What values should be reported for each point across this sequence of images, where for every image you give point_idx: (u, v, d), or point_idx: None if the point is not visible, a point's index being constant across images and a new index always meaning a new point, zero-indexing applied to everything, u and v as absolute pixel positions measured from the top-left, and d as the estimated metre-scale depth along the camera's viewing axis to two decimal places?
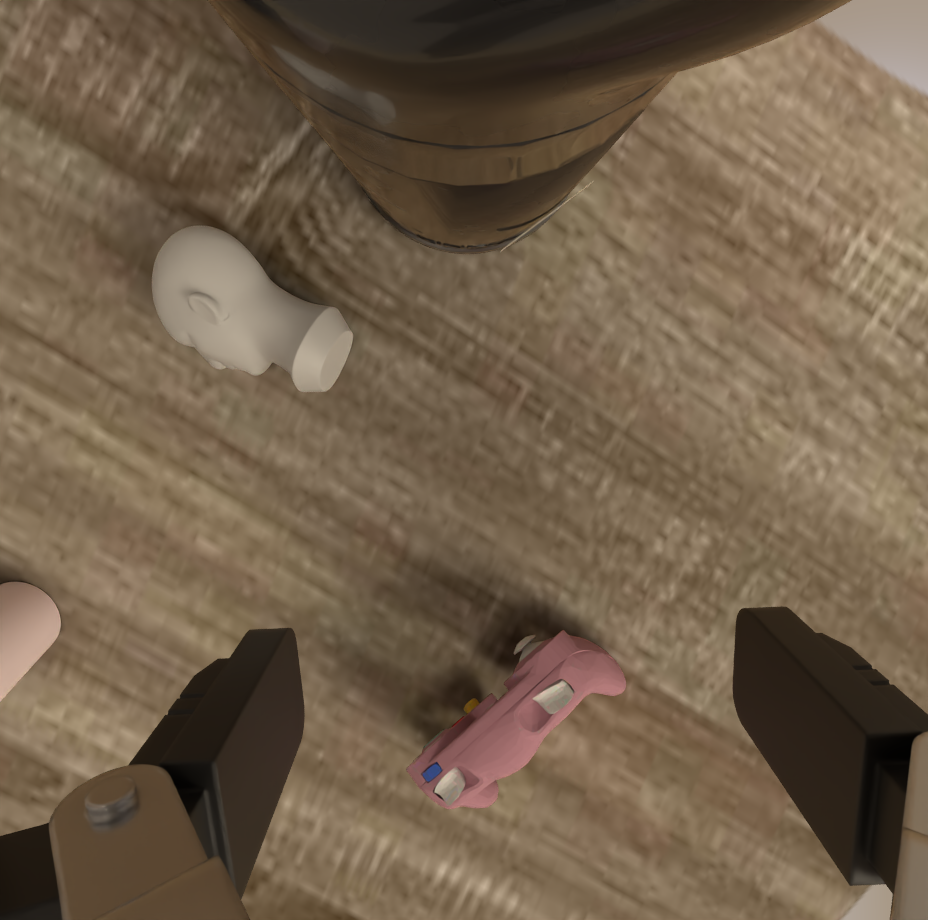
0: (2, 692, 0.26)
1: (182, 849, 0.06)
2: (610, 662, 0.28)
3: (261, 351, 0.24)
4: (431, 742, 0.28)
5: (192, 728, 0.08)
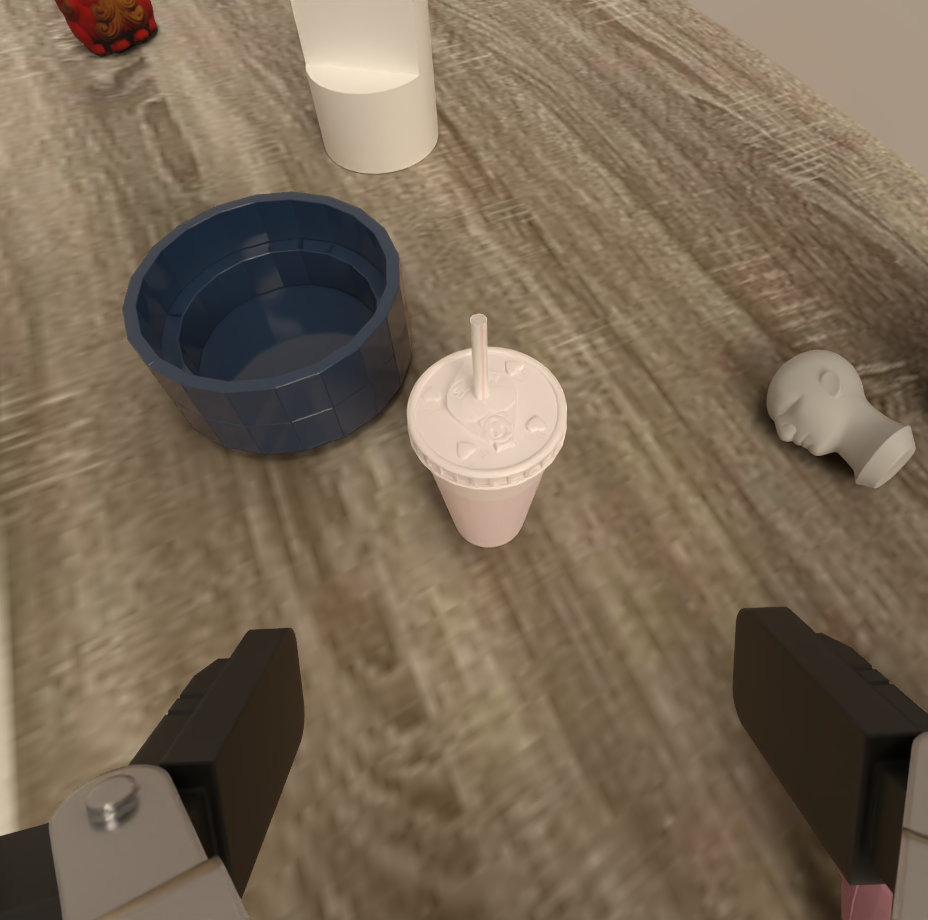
0: (518, 509, 0.28)
1: (182, 849, 0.06)
2: None
3: (847, 430, 0.32)
4: None
5: (192, 728, 0.08)
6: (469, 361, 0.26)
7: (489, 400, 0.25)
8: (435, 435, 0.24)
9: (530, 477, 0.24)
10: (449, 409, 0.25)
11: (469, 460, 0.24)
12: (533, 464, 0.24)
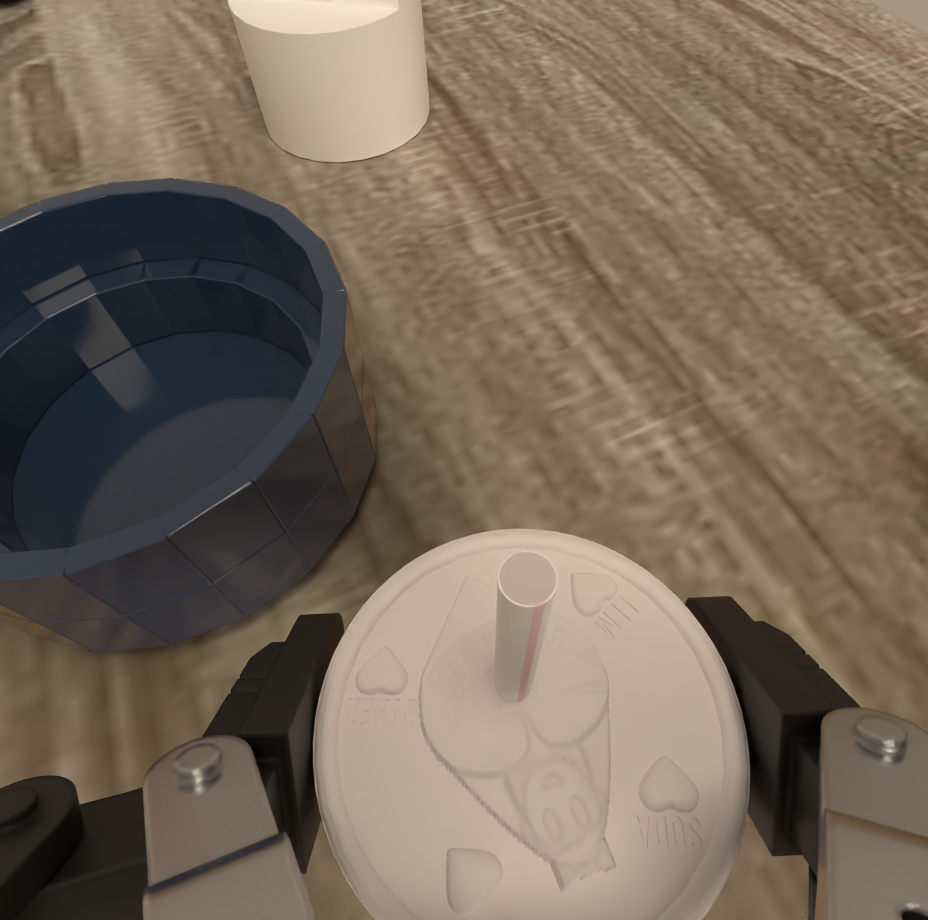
0: None
1: (256, 820, 0.07)
2: None
3: None
4: None
5: (261, 704, 0.09)
6: (481, 570, 0.11)
7: (536, 705, 0.09)
8: (387, 817, 0.09)
9: None
10: (427, 732, 0.09)
11: (484, 919, 0.08)
12: None
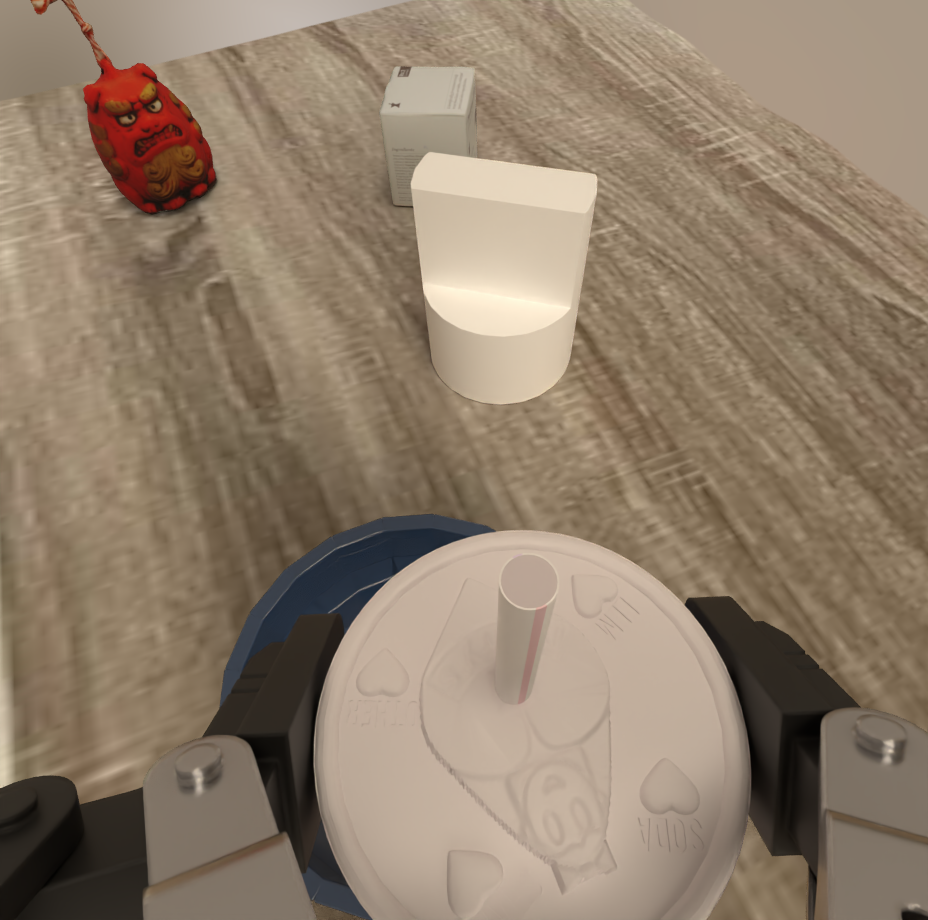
0: None
1: (256, 820, 0.07)
2: None
3: None
4: None
5: (261, 704, 0.09)
6: (481, 572, 0.11)
7: (537, 707, 0.09)
8: (387, 819, 0.09)
9: None
10: (428, 734, 0.09)
11: None
12: None
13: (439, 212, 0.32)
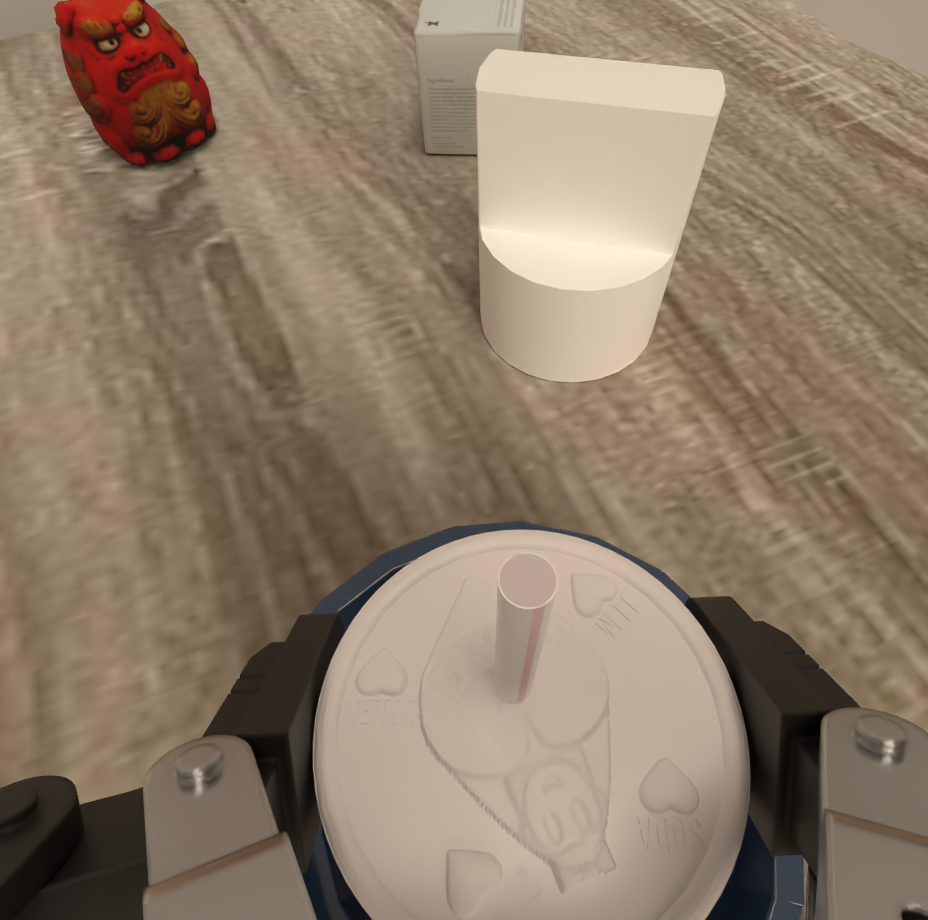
0: None
1: (256, 821, 0.07)
2: None
3: None
4: None
5: (261, 704, 0.09)
6: (481, 571, 0.11)
7: (536, 707, 0.09)
8: (386, 818, 0.09)
9: None
10: (427, 734, 0.09)
11: None
12: None
13: (511, 125, 0.24)
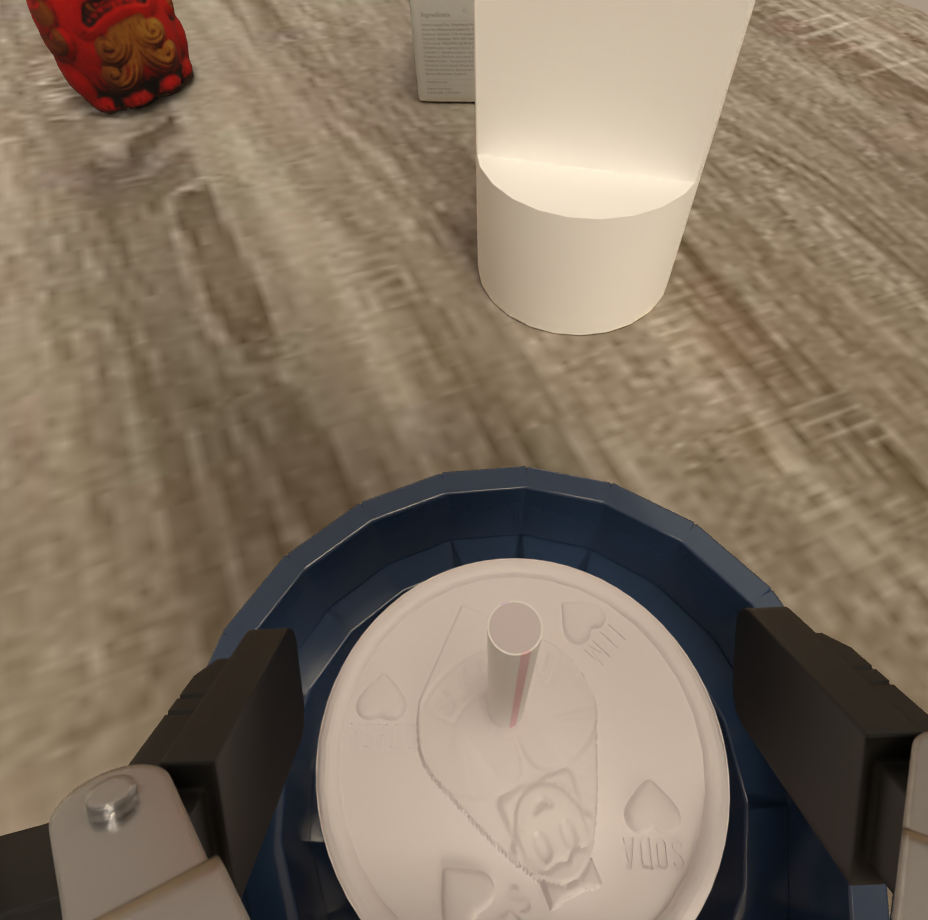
0: None
1: (182, 849, 0.06)
2: None
3: None
4: None
5: (192, 728, 0.08)
6: (476, 599, 0.11)
7: (527, 731, 0.10)
8: (386, 838, 0.09)
9: None
10: (424, 757, 0.10)
11: None
12: None
13: (514, 21, 0.21)
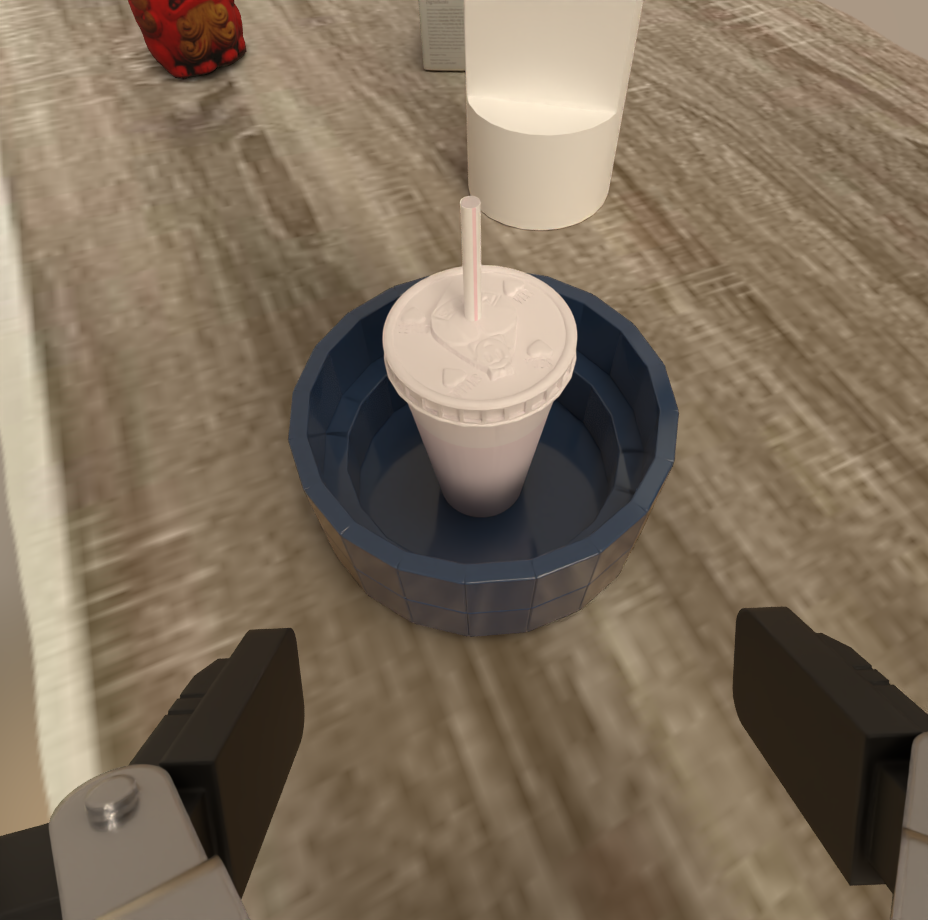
0: (516, 464, 0.24)
1: (182, 849, 0.06)
2: None
3: None
4: None
5: (192, 728, 0.08)
6: (459, 280, 0.22)
7: (483, 321, 0.20)
8: (416, 361, 0.20)
9: (532, 413, 0.20)
10: (434, 331, 0.20)
11: (458, 389, 0.19)
12: (536, 394, 0.19)
13: None
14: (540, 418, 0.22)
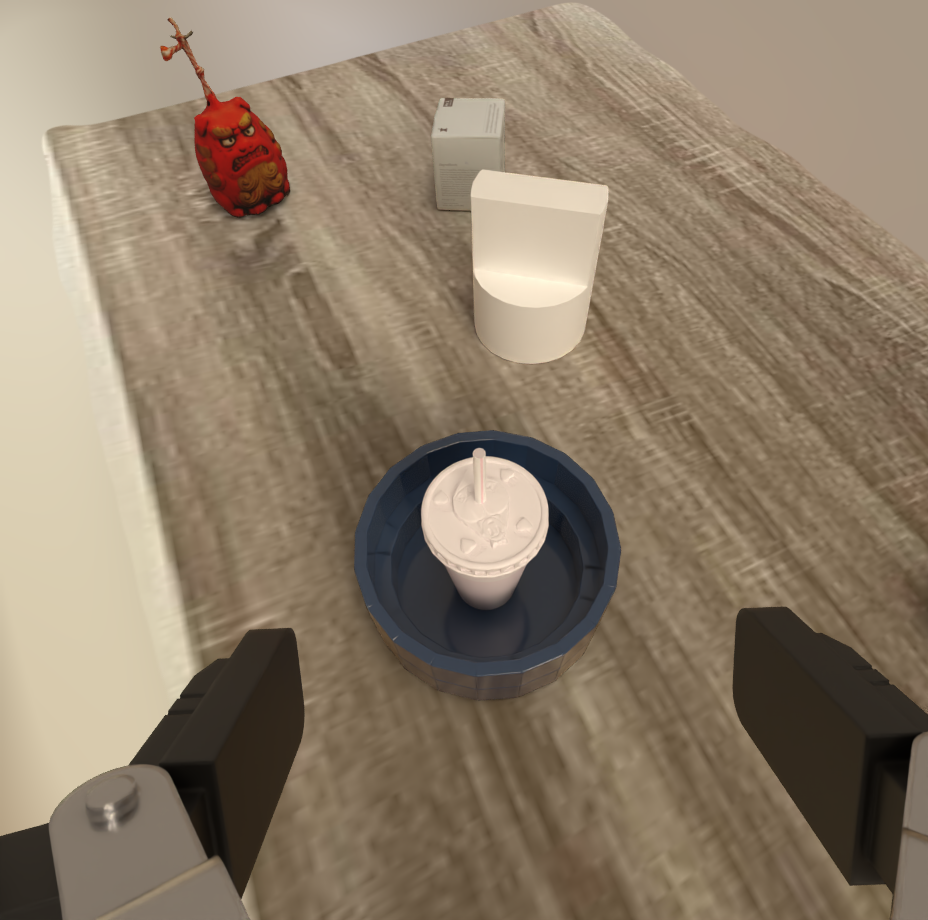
0: (509, 585, 0.35)
1: (182, 849, 0.06)
2: None
3: None
4: None
5: (192, 728, 0.08)
6: (471, 469, 0.33)
7: (487, 504, 0.31)
8: (444, 532, 0.31)
9: (518, 567, 0.31)
10: (455, 511, 0.31)
11: (471, 554, 0.30)
12: (521, 558, 0.30)
13: (491, 214, 0.42)
14: None
